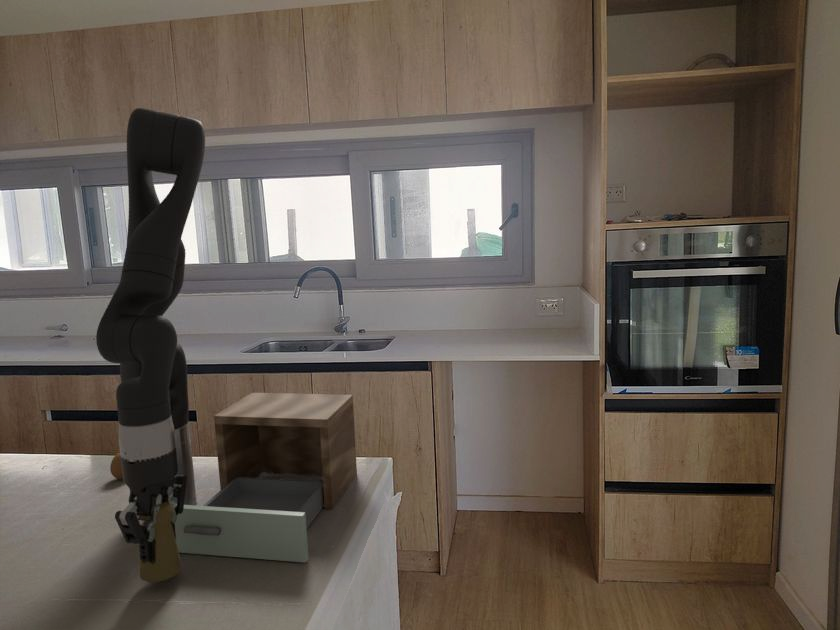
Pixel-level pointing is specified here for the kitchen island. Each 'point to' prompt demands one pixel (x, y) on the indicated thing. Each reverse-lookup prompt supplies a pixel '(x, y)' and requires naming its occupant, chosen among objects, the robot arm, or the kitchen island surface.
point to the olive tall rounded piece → (162, 548)
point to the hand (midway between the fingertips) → (159, 553)
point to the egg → (116, 467)
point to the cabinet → (289, 439)
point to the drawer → (253, 520)
